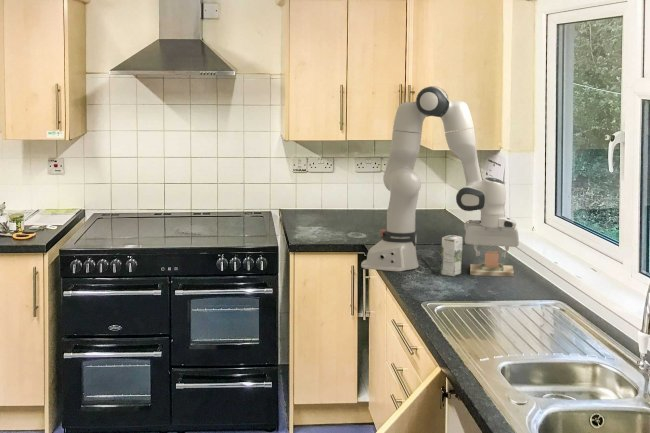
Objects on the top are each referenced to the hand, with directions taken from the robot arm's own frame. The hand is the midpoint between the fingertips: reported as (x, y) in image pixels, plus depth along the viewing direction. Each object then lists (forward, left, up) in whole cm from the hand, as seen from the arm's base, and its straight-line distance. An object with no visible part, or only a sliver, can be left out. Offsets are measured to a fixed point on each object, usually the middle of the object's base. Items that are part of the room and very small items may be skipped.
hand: (490, 257), depth 333 cm
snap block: (0, +1, -4) cm, 4 cm away
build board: (+1, 0, -6) cm, 6 cm away
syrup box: (-14, -6, -6) cm, 17 cm away
